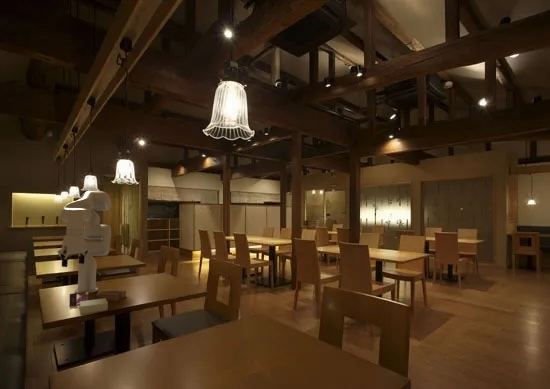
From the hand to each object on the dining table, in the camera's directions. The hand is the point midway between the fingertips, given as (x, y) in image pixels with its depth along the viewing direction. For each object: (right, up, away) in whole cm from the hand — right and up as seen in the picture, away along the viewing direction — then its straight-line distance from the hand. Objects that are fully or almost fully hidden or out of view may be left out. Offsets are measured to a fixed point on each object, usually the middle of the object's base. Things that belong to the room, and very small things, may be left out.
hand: (73, 265), depth 162 cm
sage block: (+11, -23, -1) cm, 26 cm away
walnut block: (+10, -24, +18) cm, 32 cm away
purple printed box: (-1, -23, +6) cm, 24 cm away
